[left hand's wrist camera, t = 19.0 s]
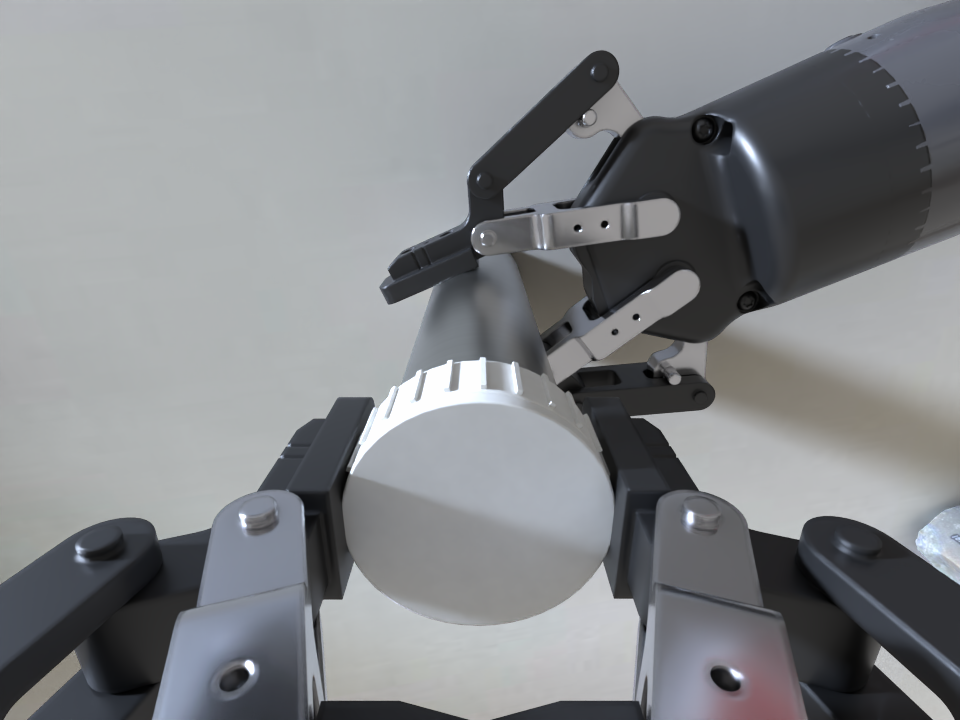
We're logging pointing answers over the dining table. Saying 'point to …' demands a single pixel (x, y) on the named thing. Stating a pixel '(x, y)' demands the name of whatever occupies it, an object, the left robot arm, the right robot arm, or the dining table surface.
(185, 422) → the dining table surface
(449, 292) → the slim metal bottle
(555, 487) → the lid
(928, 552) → the mineral rock
